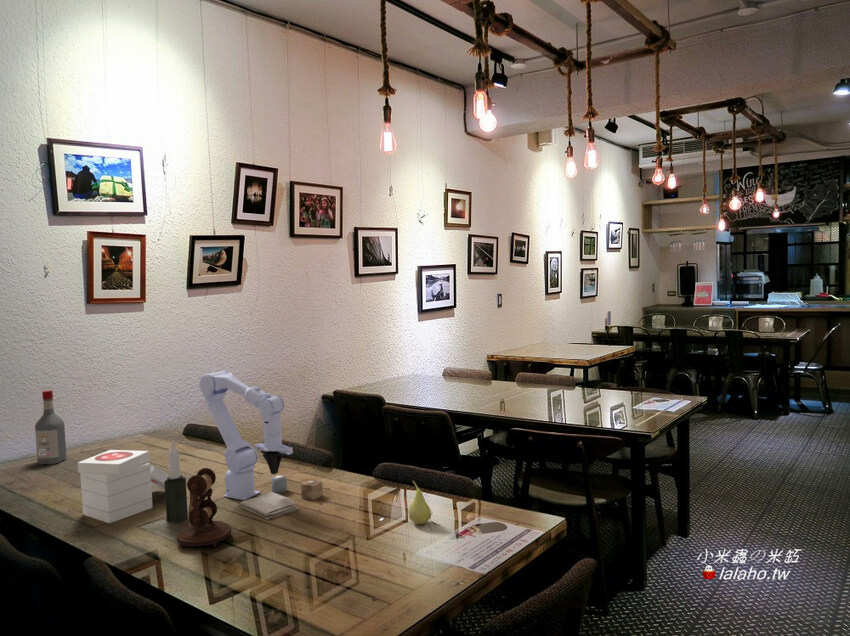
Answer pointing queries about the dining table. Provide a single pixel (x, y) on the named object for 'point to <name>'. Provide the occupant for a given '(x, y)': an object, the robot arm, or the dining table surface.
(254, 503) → the washcloth
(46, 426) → the liquor
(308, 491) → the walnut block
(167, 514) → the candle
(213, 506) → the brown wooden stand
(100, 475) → the pizza boxes
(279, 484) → the slate cylinder
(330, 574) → the dining table surface
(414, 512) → the fruit
